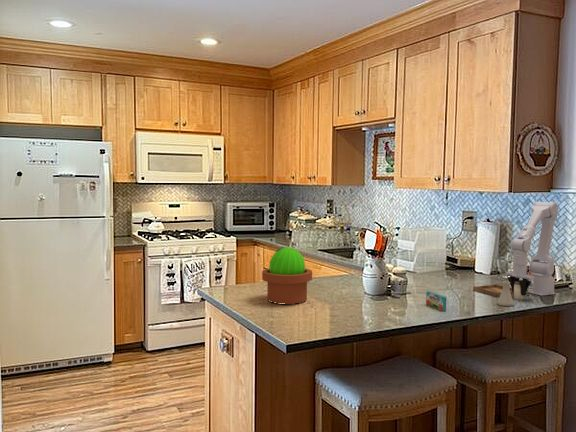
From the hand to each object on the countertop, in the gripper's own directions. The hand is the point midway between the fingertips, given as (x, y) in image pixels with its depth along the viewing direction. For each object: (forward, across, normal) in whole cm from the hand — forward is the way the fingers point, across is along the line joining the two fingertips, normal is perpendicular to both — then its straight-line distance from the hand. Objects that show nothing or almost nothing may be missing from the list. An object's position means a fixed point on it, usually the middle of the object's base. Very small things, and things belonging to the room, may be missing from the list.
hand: (518, 294), depth 237 cm
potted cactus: (+2, -37, -100) cm, 107 cm away
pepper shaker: (+2, 0, 0) cm, 2 cm away
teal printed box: (+2, -1, -46) cm, 46 cm away
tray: (+2, -14, 0) cm, 14 cm away
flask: (+2, +6, -14) cm, 15 cm away
